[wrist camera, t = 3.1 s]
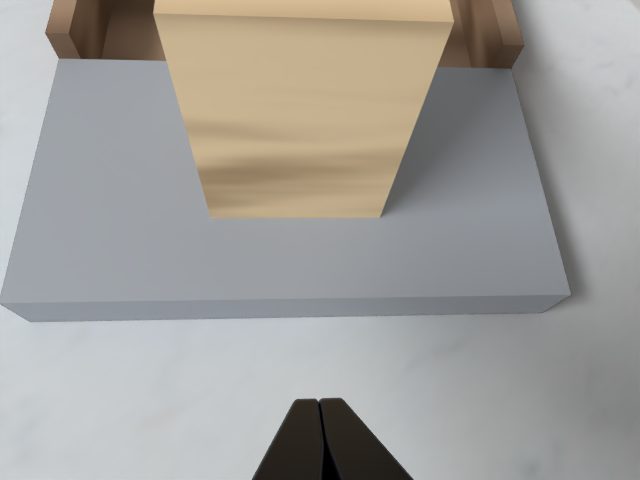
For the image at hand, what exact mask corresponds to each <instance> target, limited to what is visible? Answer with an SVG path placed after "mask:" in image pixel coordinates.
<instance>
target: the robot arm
mask: <svg viewBox="0 0 640 480" xmlns="http://www.w3.org/2000/svg"><path fill="white" fill-rule="evenodd" d="M252 480H414V479H413V478H412V477H411V476H410V475H409V474H408V473H407V471H406V470H405V469H404V468H403V467H402V466H401V465H400V464H399V462H398V461H397V460H396V459H395V458H394V457H393V456H392V454H391V453H390V452H389V451H388V450H387V449H386V448H385V446H384V445H383V444H382V443H381V442H380V441H379V440H378V438H377V437H376V436H375V435H374V434H373V433H372V432H371V431H370V429H369V428H368V427H367V426H366V425H365V424H364V423H363V421H362V420H361V419H360V418H359V417H358V416H357V415H356V413H355V412H354V411H353V410H352V409H351V408H350V407H349V405H348V404H347V403H346V402H345V401H344V400H343V399H341V398H322V399H320V400H319V402H318V401H317V400H316V399H296V400H295V401H294V402H293V404H292V406H291V408H290V409H289V411H288V413H287V415H286V417H285V419H284V421H283V422H282V424H281V426H280V428H279V430H278V432H277V434H276V435H275V437H274V439H273V441H272V443H271V445H270V446H269V448H268V450H267V452H266V454H265V456H264V458H263V459H262V461H261V463H260V465H259V467H258V469H257V471H256V472H255V474H254V476H253V478H252Z"/></svg>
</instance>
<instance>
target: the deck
mask: <svg viewBox="0 0 640 480" xmlns="http://www.w3.org/2000/svg"><path fill="white" fill-rule="evenodd" d="M570 295H571V292H570V288H569V285H568V281H567V277H566V273H565V270H564V266H563V262H562V258H561V255H560V251H559V247H558V243H557V240H556V236H555V232H554V228H553V224H552V221H551V217H550V213H549V209H548V206H547V202H546V198H545V194H544V191H543V187H542V183H541V179H540V176H539V172H538V168H537V164H536V161H535V157H534V153H533V149H532V146H531V142H530V138H529V134H528V131H527V127H526V123H525V119H524V116H523V112H522V108H521V104H520V101H519V97H518V93H517V89H516V86H515V82H514V78H513V74H512V71H511V69H505V68H461V67H437V68H436V71H435V74H434V76H433V79H432V82H431V84H430V87H429V89H428V92H427V95H426V97H425V100H424V103H423V105H422V108H421V110H420V113H419V116H418V118H417V121H416V124H415V126H414V129H413V131H412V134H411V137H410V139H409V142H408V145H407V147H406V150H405V152H404V155H403V158H402V160H401V163H400V166H399V168H398V171H397V174H396V176H395V179H394V181H393V184H392V187H391V189H390V192H389V195H388V197H387V200H386V202H385V205H384V208H383V210H382V213H381V216H380V218H211V217H210V213H209V210H208V206H207V203H206V199H205V196H204V192H203V189H202V185H201V181H200V178H199V174H198V171H197V167H196V164H195V160H194V157H193V153H192V150H191V146H190V142H189V139H188V135H187V132H186V128H185V125H184V121H183V118H182V114H181V111H180V107H179V103H178V100H177V96H176V93H175V89H174V86H173V82H172V79H171V75H170V72H169V68H168V64H167V61H145V60H100V59H59V60H58V64H57V69H56V73H55V77H54V81H53V85H52V89H51V93H50V97H49V101H48V105H47V109H46V113H45V117H44V121H43V125H42V129H41V133H40V137H39V141H38V145H37V149H36V153H35V157H34V162H33V166H32V170H31V174H30V178H29V182H28V186H27V190H26V194H25V198H24V202H23V206H22V210H21V214H20V218H19V222H18V226H17V230H16V234H15V238H14V242H13V246H12V250H11V255H10V259H9V263H8V267H7V271H6V275H5V279H4V283H3V287H2V291H1V295H0V304H1V305H2V306H4V307H6V308H7V309H9V310H11V311H12V312H14V313H16V314H17V315H19V316H21V317H22V318H24V319H26V320H27V321H29V322H56V321H112V320H168V319H224V318H280V317H335V316H391V315H447V314H503V313H542V312H544V311H546V310H547V309H549V308H550V307H552V306H554V305H555V304H557V303H558V302H560V301H562V300H563V299H565V298H567V297H568V296H570Z"/></svg>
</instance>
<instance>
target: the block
mask: <svg viewBox="0 0 640 480" xmlns="http://www.w3.org/2000/svg"><path fill="white" fill-rule="evenodd" d="M153 15H154V18H155V22H156V25H157V29H158V32H159V36H160V40H161V43H162V47H163V50H164V54H165V57H166V61H167V64H168V68H169V72H170V75H171V79H172V82H173V86H174V89H175V93H176V96H177V100H178V103H179V107H180V111H181V114H182V118H183V121H184V125H185V128H186V132H187V135H188V139H189V142H190V146H191V150H192V153H193V157H194V160H195V164H196V167H197V171H198V174H199V178H200V181H201V185H202V189H203V192H204V196H205V199H206V203H207V206H208V210H209V213H210V217H211V218H380V216H381V213H382V210H383V208H384V205H385V202H386V200H387V197H388V195H389V192H390V189H391V187H392V184H393V181H394V179H395V176H396V174H397V171H398V168H399V166H400V163H401V160H402V158H403V155H404V152H405V150H406V147H407V145H408V142H409V139H410V137H411V134H412V131H413V129H414V126H415V124H416V121H417V118H418V116H419V113H420V110H421V108H422V105H423V103H424V100H425V97H426V95H427V92H428V89H429V87H430V84H431V82H432V79H433V76H434V74H435V71H436V68H437V66H438V63H439V61H440V58H441V55H442V53H443V50H444V47H445V45H446V42H447V40H448V37H449V34H450V32H451V29H452V26H453V24H454V19H453V15H452V10H451V5H450V1H449V0H155V4H154V11H153Z"/></svg>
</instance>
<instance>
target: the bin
mask: <svg viewBox="0 0 640 480" xmlns="http://www.w3.org/2000/svg"><path fill="white" fill-rule="evenodd" d="M449 1H450V5H451V10H452V15H453V19H454V24H453V26H452V29H451V32H450V34H449V37H448V40H447V42H446V45H445V47H444V50H443V53H442V55H441V58H440V61H439V63H438V66H437V67H461V68H505V69H511V68H512V66H513V64H514V62H515V61H516V59H517V57H518V55H519V54H520V52H521V50H522V48H523V47H524V43H523V40H522V36H521V33H520V30H519V26H518V23H517V19H516V16H515V12H514V9H513V5H512V2H511V0H449ZM154 4H155V0H54V2H53V6H52V10H51V13H50V17H49V21H48V24H47V28H46V32H45V34H46V35H47V37H48V39H49V41H50V43H51V45H52V47H53V48H54V50H55V52H56V54H57V56H58V58H59V59H100V60H145V61H166V57H165V54H164V50H163V47H162V43H161V40H160V36H159V32H158V29H157V25H156V22H155V18H154V15H153V11H154Z"/></svg>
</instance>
